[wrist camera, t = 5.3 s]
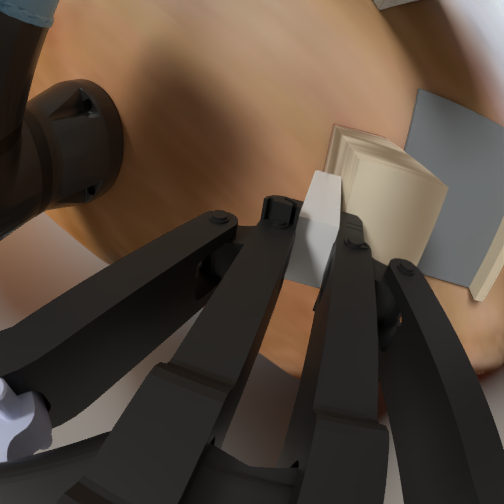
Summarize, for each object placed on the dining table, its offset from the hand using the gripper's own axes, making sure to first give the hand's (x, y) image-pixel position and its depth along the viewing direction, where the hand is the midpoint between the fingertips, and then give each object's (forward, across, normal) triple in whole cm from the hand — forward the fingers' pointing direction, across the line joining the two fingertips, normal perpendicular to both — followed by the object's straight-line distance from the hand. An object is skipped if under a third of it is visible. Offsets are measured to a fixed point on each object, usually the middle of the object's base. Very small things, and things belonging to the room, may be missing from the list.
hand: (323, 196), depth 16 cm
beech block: (+9, +2, 0) cm, 9 cm away
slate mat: (+9, +12, 0) cm, 15 cm away
